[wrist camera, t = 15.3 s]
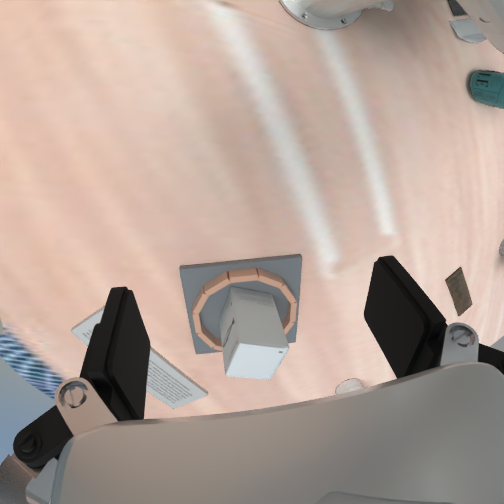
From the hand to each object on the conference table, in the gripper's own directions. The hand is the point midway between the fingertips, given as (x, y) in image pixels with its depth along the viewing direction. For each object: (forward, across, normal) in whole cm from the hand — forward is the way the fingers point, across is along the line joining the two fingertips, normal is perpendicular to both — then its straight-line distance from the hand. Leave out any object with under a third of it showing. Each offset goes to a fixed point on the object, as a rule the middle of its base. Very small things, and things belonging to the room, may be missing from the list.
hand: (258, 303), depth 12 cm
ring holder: (+33, -1, +29) cm, 43 cm away
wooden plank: (+34, -52, +36) cm, 72 cm away
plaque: (+33, +20, +41) cm, 56 cm away
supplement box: (+32, -2, +28) cm, 42 cm away
